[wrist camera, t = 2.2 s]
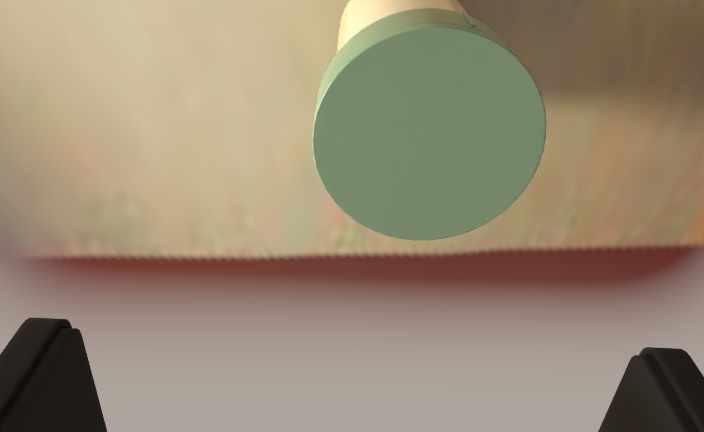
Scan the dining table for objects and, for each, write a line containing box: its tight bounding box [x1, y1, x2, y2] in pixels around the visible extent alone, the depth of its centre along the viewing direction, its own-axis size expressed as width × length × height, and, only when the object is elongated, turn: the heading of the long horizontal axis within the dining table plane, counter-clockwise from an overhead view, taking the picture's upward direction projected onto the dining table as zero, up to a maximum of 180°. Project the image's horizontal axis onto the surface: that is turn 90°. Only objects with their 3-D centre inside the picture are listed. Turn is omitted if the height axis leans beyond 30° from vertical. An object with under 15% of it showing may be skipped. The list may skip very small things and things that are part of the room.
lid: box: [312, 8, 546, 240], centre depth 19 cm, size 8×8×2 cm
